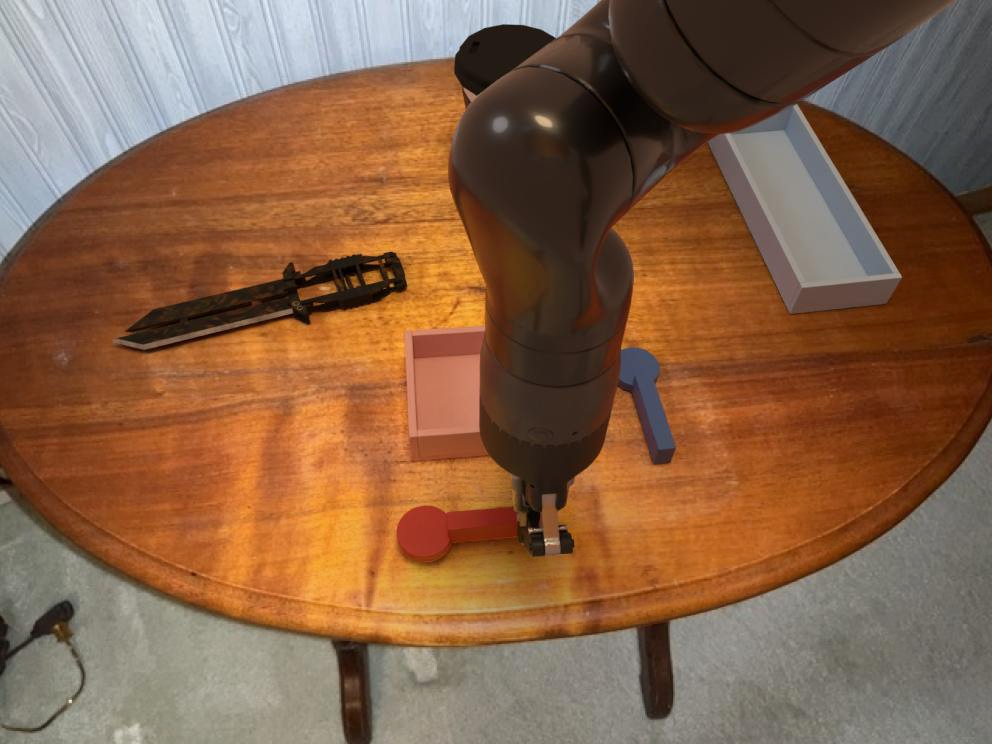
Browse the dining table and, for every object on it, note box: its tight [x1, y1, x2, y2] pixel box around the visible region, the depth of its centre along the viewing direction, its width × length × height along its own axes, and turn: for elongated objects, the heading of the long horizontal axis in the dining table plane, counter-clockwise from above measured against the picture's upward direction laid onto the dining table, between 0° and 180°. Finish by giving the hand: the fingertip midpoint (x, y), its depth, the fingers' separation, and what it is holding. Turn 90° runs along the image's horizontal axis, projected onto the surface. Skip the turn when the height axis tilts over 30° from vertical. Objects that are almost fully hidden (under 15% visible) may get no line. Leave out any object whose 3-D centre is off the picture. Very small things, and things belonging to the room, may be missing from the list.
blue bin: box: [707, 104, 903, 315], centre depth 79 cm, size 25×9×4 cm, turn 9°
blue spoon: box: [617, 346, 677, 465], centre depth 66 cm, size 11×4×2 cm, turn 9°
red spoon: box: [396, 504, 518, 563], centre depth 58 cm, size 11×4×2 cm, turn 96°
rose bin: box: [404, 325, 490, 462], centre depth 65 cm, size 14×10×4 cm
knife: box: [111, 251, 408, 351], centre depth 72 cm, size 25×6×1 cm, turn 105°
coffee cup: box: [453, 23, 557, 109], centre depth 80 cm, size 11×11×12 cm
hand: (530, 525), depth 59 cm, fingers closed on red spoon, 1 cm apart
